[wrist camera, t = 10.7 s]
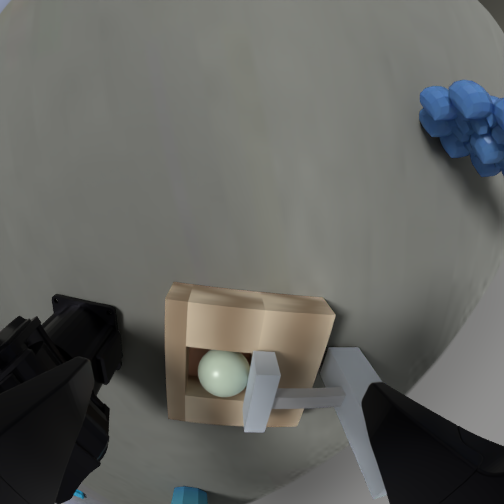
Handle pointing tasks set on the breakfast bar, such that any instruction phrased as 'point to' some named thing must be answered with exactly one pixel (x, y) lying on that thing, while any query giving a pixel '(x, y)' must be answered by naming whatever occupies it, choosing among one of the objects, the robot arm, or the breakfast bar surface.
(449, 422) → the robot arm
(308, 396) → the pull handle
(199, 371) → the ball
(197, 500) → the cup
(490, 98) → the grapes
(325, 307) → the board
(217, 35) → the breakfast bar surface
